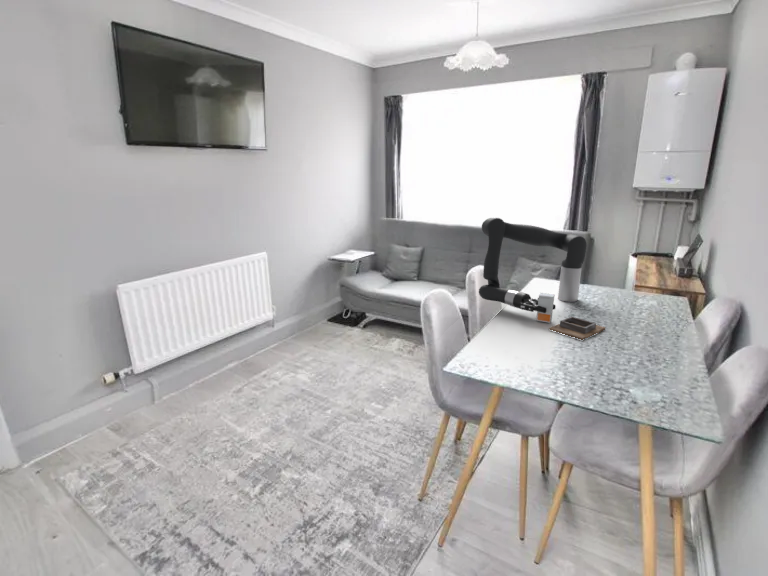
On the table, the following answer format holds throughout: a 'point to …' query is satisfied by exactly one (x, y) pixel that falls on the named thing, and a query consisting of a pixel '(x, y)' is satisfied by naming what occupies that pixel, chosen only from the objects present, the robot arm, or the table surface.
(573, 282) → the robot arm
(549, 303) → the skincare box
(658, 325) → the table surface
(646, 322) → the table surface
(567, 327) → the holder
